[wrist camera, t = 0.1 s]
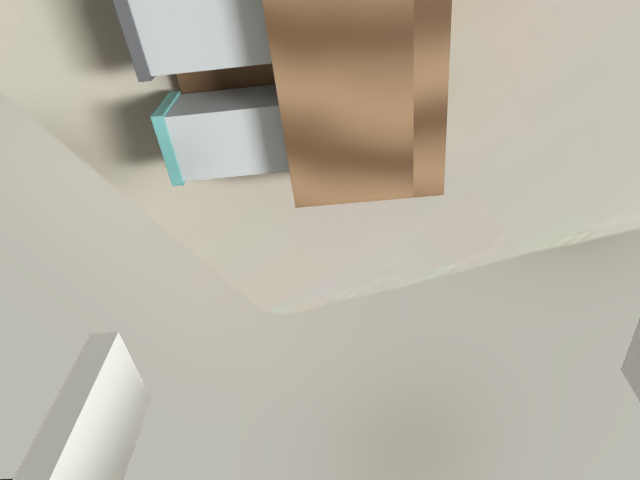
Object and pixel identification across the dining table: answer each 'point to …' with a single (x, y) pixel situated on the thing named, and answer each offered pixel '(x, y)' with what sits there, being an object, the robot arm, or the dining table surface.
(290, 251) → the dining table surface
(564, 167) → the dining table surface
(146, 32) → the charcoal key
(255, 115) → the teal key
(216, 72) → the key console
